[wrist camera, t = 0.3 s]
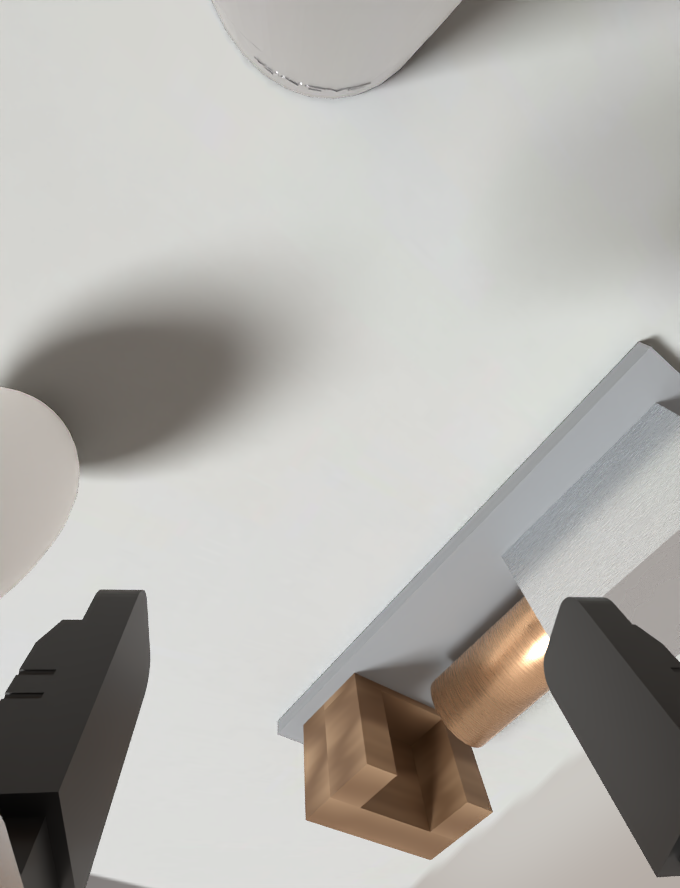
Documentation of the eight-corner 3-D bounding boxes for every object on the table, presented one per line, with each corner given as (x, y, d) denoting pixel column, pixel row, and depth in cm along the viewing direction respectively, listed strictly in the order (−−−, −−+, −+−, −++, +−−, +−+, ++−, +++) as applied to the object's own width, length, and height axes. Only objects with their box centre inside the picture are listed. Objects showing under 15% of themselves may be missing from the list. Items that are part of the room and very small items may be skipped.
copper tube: (638, 463, 27) (696, 508, 23) (685, 502, 29) (748, 550, 25) (423, 669, 33) (441, 733, 29) (472, 692, 34) (496, 757, 30)
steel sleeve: (656, 402, 27) (758, 460, 21) (724, 463, 29) (835, 531, 23) (500, 556, 31) (551, 641, 25) (572, 600, 33) (634, 688, 27)
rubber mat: (638, 341, 27) (651, 346, 26) (761, 455, 30) (776, 463, 30) (277, 721, 37) (277, 734, 36) (403, 770, 41) (406, 783, 40)
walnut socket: (354, 672, 34) (366, 764, 29) (462, 721, 37) (492, 812, 32) (303, 724, 36) (305, 820, 30) (410, 767, 39) (430, 860, 34)
